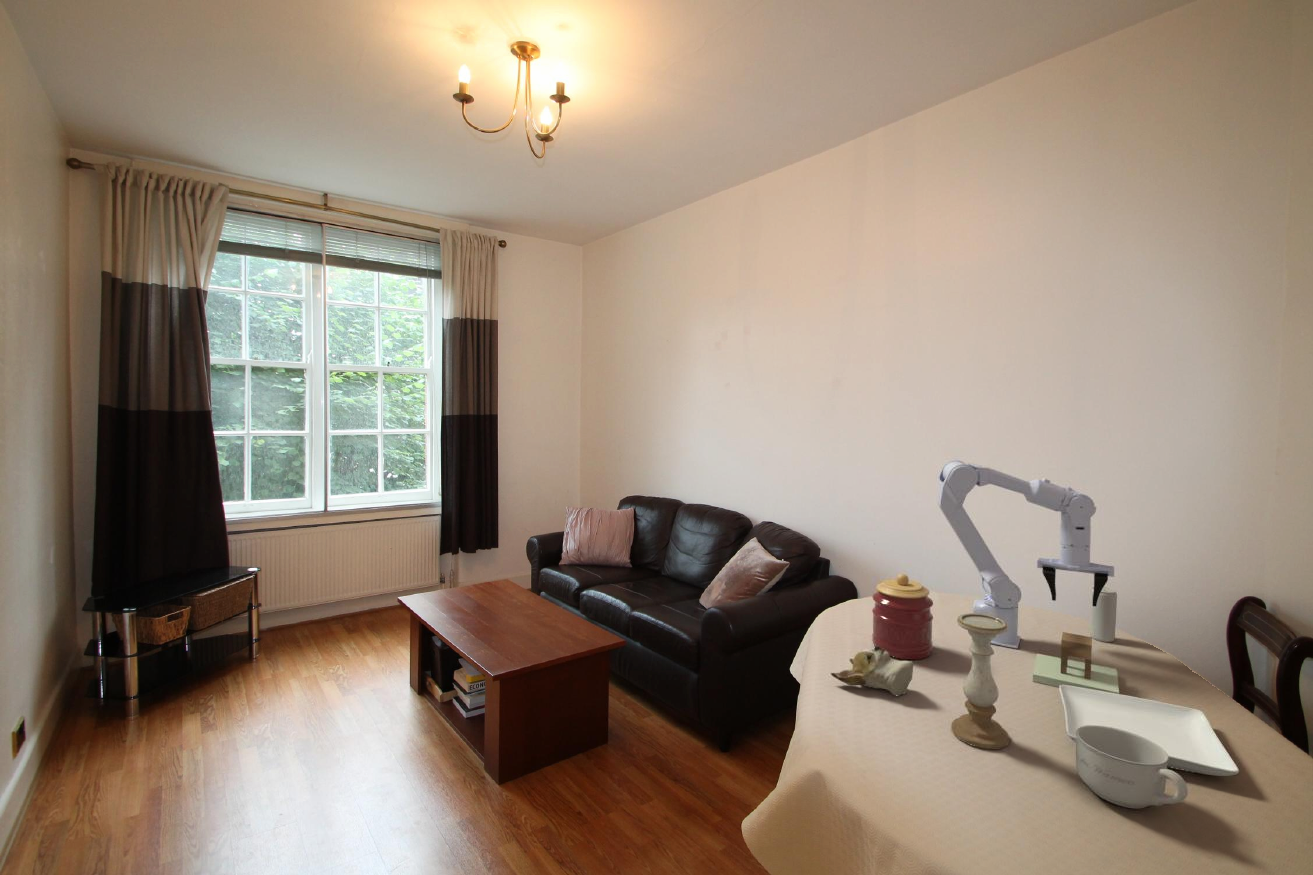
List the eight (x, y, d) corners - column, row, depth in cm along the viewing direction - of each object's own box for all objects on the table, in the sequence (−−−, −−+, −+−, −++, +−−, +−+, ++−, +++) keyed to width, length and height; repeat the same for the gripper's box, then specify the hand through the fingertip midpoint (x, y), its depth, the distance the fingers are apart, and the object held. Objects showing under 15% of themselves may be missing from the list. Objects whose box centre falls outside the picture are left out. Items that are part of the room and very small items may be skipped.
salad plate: (1057, 698, 118) (1058, 680, 118) (1201, 726, 107) (1202, 707, 107) (1067, 754, 100) (1067, 734, 99) (1241, 795, 89) (1242, 772, 89)
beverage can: (1106, 635, 147) (1108, 586, 146) (1120, 643, 142) (1121, 592, 141) (1085, 634, 147) (1087, 586, 147) (1098, 642, 143) (1099, 592, 142)
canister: (936, 644, 143) (937, 571, 142) (927, 665, 132) (928, 586, 131) (878, 633, 150) (879, 563, 149) (865, 653, 139) (866, 577, 138)
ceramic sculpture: (903, 662, 114) (827, 646, 124) (905, 708, 114) (830, 689, 124) (921, 645, 122) (849, 631, 132) (923, 688, 122) (851, 671, 132)
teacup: (1057, 774, 94) (1058, 724, 93) (1122, 769, 95) (1124, 719, 94) (1135, 839, 80) (1137, 780, 80) (1210, 832, 81) (1213, 775, 81)
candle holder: (987, 755, 99) (990, 634, 98) (940, 729, 107) (942, 617, 105) (1020, 741, 103) (1023, 624, 102) (972, 717, 111) (974, 608, 109)
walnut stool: (1060, 673, 124) (1061, 639, 124) (1061, 664, 128) (1062, 631, 128) (1090, 679, 121) (1091, 645, 121) (1090, 670, 125) (1092, 637, 125)
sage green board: (1032, 681, 124) (1032, 674, 124) (1036, 660, 134) (1037, 653, 134) (1118, 700, 116) (1119, 692, 116) (1116, 676, 126) (1116, 669, 126)
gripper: (1036, 543, 140) (1035, 601, 141) (1115, 551, 132) (1113, 613, 133) (1038, 537, 146) (1037, 593, 147) (1114, 545, 138) (1112, 603, 138)
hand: (1073, 602), depth 140 cm, fingers open, 7 cm apart
